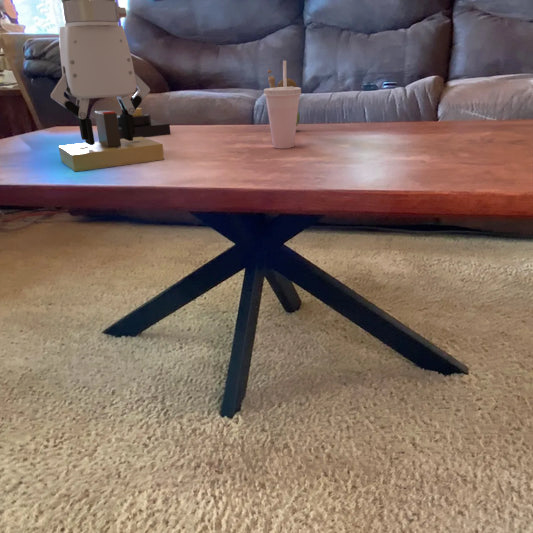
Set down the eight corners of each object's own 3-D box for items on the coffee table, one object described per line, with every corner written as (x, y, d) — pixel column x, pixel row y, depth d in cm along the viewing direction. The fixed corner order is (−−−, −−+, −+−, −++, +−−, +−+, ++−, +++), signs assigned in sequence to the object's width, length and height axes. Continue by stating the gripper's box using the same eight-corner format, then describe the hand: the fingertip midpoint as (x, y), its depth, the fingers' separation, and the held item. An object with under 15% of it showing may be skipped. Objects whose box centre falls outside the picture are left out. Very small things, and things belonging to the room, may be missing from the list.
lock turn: (99, 143, 83) (94, 109, 81) (111, 141, 84) (106, 108, 82) (108, 147, 79) (103, 112, 77) (121, 146, 80) (116, 111, 78)
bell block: (113, 141, 101) (110, 120, 100) (100, 135, 109) (97, 116, 108) (170, 134, 107) (168, 114, 105) (154, 129, 115) (152, 111, 113)
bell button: (126, 119, 104) (125, 110, 104) (120, 117, 107) (119, 108, 107) (145, 117, 106) (144, 108, 105) (139, 115, 109) (138, 107, 109)
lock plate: (74, 171, 75) (71, 153, 74) (61, 161, 83) (58, 144, 82) (164, 159, 82) (162, 142, 81) (143, 150, 90) (141, 135, 89)
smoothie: (309, 146, 89) (309, 59, 83) (279, 151, 85) (277, 61, 80) (286, 142, 94) (285, 60, 88) (258, 146, 90) (254, 61, 85)
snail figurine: (274, 129, 110) (272, 69, 105) (302, 129, 107) (302, 68, 103) (265, 132, 105) (263, 70, 100) (294, 133, 103) (294, 70, 98)
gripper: (139, 17, 81) (152, 133, 89) (23, 17, 73) (48, 145, 81) (155, 14, 76) (168, 138, 83) (32, 14, 67) (58, 151, 75)
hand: (109, 140), depth 81 cm, fingers open, 5 cm apart
